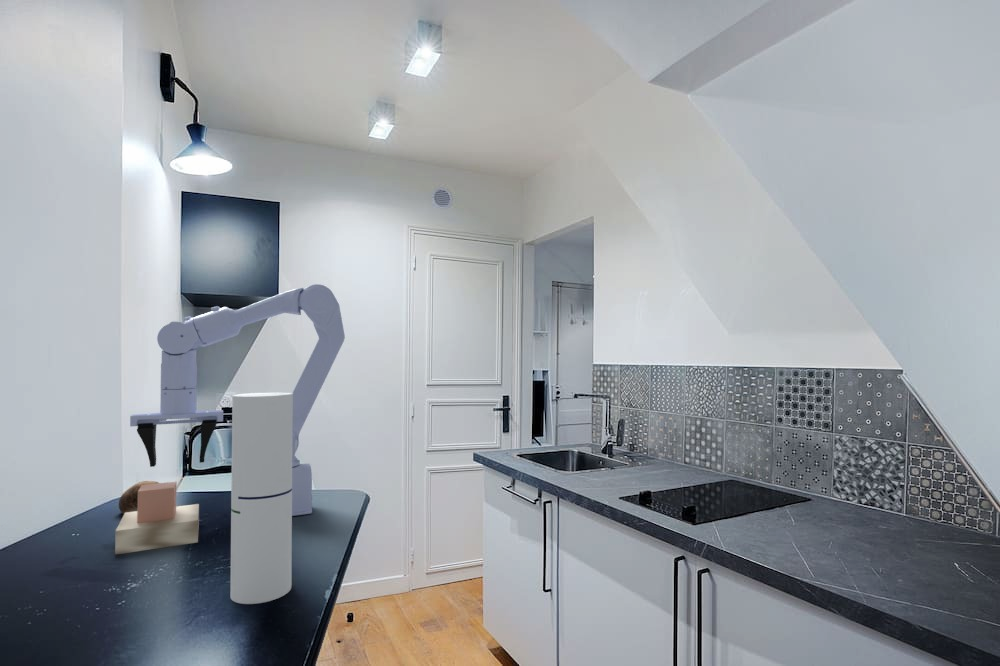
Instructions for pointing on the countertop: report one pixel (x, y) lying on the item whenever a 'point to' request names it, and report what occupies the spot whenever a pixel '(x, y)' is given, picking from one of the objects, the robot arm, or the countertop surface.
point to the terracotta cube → (156, 502)
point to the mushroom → (131, 497)
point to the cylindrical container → (261, 497)
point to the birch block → (157, 531)
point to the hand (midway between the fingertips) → (177, 463)
